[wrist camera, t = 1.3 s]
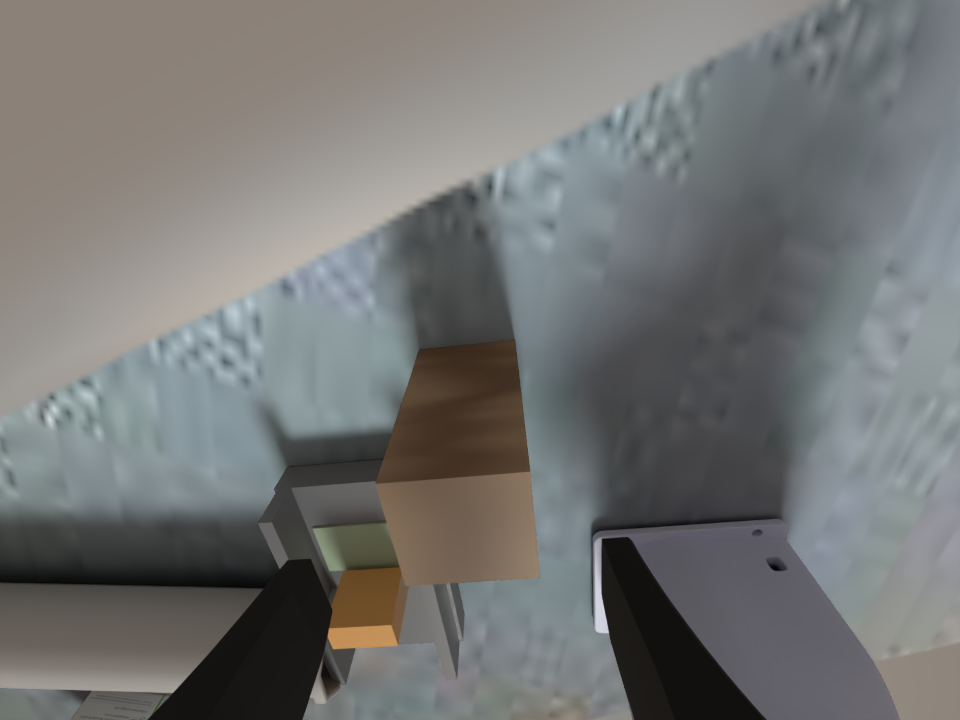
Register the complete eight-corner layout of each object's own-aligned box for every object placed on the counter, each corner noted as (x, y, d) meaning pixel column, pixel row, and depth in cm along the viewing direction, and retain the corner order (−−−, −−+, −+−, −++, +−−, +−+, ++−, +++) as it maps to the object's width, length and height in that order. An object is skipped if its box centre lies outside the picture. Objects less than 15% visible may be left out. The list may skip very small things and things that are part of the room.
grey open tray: (287, 467, 22) (253, 523, 19) (429, 455, 21) (419, 511, 18) (349, 621, 27) (331, 685, 24) (464, 615, 27) (460, 679, 23)
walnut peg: (515, 340, 18) (530, 471, 11) (522, 420, 20) (539, 578, 13) (419, 349, 19) (375, 484, 12) (434, 428, 21) (405, 585, 13)
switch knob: (343, 570, 22) (324, 628, 20) (402, 567, 22) (391, 625, 19) (351, 590, 23) (333, 649, 20) (408, 586, 23) (398, 645, 20)
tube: (-114, 696, 24) (339, 710, 24) (-229, 680, 21) (309, 696, 20) (-35, 590, 28) (360, 599, 27) (-119, 559, 24) (339, 569, 23)
